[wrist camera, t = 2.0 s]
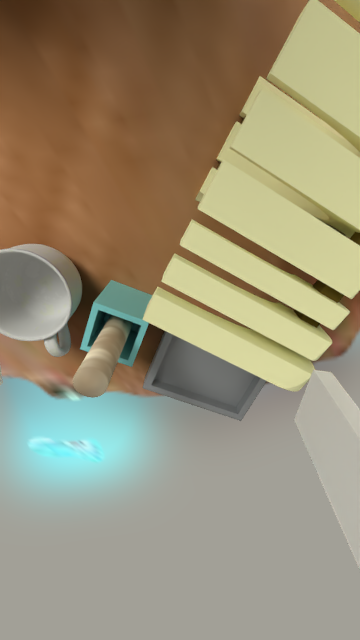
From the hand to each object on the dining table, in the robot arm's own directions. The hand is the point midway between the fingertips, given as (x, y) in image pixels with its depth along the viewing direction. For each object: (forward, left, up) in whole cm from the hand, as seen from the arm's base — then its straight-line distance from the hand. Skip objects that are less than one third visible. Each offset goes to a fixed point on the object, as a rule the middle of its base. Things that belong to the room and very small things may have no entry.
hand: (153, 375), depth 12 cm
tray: (+11, -14, -27) cm, 33 cm away
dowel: (-3, -10, -27) cm, 29 cm away
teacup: (-13, -11, -28) cm, 33 cm away
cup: (-3, -10, -27) cm, 29 cm away
